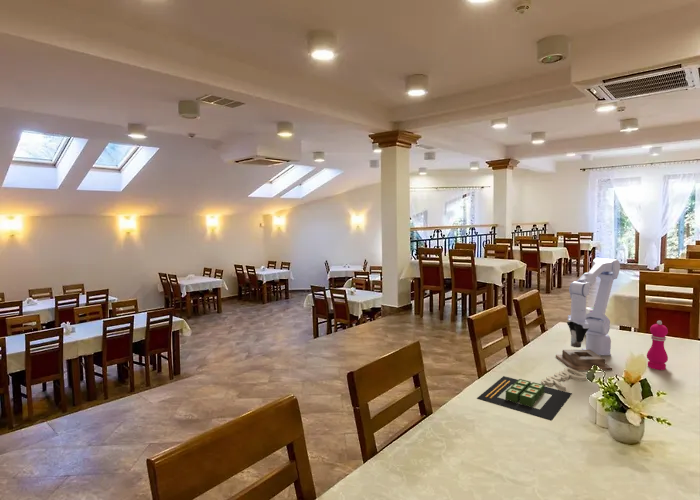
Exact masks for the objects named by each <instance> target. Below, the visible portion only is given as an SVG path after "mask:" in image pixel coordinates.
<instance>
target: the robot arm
mask: <svg viewBox="0 0 700 500" xmlns="http://www.w3.org/2000/svg"><path fill="white" fill-rule="evenodd" d="M591 265H592V267H590V270H589V271H587V272H584V273H583V274H582V275H581V276H580V277H579V278H578V279H577V280H576V281H573V282H571V283H570V284H569V288H568V291H569V297H570V299H571V301H570V302H571V303H570V314H568V315H567V322H566V324H567V326H568V329H569V332H570V333H571V330H572V329H575V331H576V340H577V342H581V343H582V342H584V338H585V339H586V340H585V348H581V350H591V351H593V352H595V353H596V354H598V355H599V356H611V355H612V354H611V348H612V347H611V346H612V341H611V340H612V339H611V337H610V335H609V333H610V330H611V329H610V328H611V327H610V326H611V325H610V324H611V320H610V319H609V317H608V316H607V315H606V311H607V310H606V309H607V307H608V303H609V299H610V295H611V292H612V291H611V290H612V289H613V288H612V287H613V283H614V280H616V279H618V277H619V273H620V270H621V263H620V261H619V259H615V258H603V257H602V258H601V257H595V258H594V259H593V261H592V264H591ZM597 278H599V279H600V281H599V285H598V289H597V293H596V297H595V302H594V305H593V307H594V308H593V311H592V312H590V313H588V314H586V307H587V296H589V295H590V291H591V287H592V286H593V285H594V284H595V283H596V282H597ZM595 319H596V320H595ZM585 334H586V335H585ZM585 336H586V337H585Z"/></svg>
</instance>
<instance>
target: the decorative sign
mask: <svg viewBox="0 0 700 500" xmlns="http://www.w3.org/2000/svg"><path fill="white" fill-rule="evenodd" d="M586 373H587V372H583V371H582V372H581V371H579V370H574V369H571V368H569V367H568V366H567V367H565V368H564V367H563V370H559V372H555V373H554V376H553V375H548V376H547V377H546V379H541V380H540V381H541V382H540V384H542V385H544V386H545V387H546V386H548V387H553V386H554V385H555V386H556V387H557V388H558V389H559V390H561V391H566V390H567V389H566V388H567V387H566V385H565V384H563V382H564V381H565V380H569V379H573V380H575V381H580V380H585V381H587V380H586ZM561 381H563V382H561Z"/></svg>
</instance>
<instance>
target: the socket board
mask: <svg viewBox="0 0 700 500" xmlns="http://www.w3.org/2000/svg"><path fill="white" fill-rule="evenodd" d="M555 358H556V359H558V360H559V361H560V362H562V363H563V364H564V365H566V366H567V367H569V368H571V369H574V370H576V371H590V370H589V369H591V368H592V366H593V365H596V366H598V367H599V368H600V369H602V370H601V371H613V367H612V366H610V365H609V364H608V363H606V358H604V357H602V355H598V354H596V353H595V352H593V351H591V350H582V349H562V353H561V354H555Z"/></svg>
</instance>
